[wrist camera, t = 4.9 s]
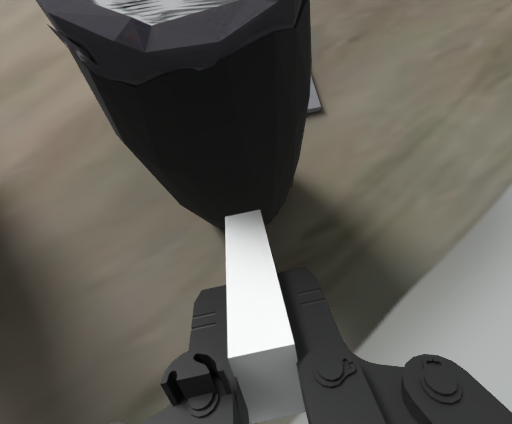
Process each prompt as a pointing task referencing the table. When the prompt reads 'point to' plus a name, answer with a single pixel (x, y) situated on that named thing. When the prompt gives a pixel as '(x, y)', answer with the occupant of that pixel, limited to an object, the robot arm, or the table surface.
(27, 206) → the table surface
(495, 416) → the robot arm
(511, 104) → the table surface
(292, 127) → the portable speaker
